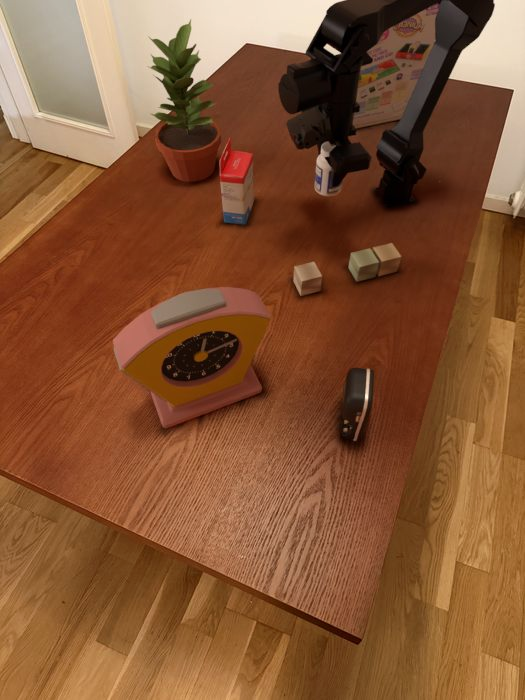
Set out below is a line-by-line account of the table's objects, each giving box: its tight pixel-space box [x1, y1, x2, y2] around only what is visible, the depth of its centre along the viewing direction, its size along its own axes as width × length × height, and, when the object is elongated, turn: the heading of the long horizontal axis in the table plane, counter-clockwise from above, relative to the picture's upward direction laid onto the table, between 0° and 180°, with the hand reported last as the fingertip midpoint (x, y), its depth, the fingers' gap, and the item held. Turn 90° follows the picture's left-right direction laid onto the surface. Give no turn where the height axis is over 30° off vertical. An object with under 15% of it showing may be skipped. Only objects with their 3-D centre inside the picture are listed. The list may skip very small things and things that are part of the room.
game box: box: [353, 3, 440, 129], centre depth 118 cm, size 21×6×27 cm, turn 108°
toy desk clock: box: [112, 286, 272, 429], centre depth 73 cm, size 22×9×22 cm, turn 114°
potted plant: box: [147, 19, 222, 183], centre depth 105 cm, size 15×15×30 cm
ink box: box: [219, 137, 255, 226], centre depth 102 cm, size 8×5×15 cm, turn 168°
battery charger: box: [340, 367, 375, 442], centre depth 74 cm, size 7×4×11 cm, turn 170°
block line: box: [292, 242, 402, 297], centre depth 95 cm, size 20×4×4 cm, turn 108°
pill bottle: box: [314, 142, 344, 197], centre depth 93 cm, size 5×5×9 cm
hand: (329, 177), depth 95 cm, fingers closed on pill bottle, 5 cm apart
